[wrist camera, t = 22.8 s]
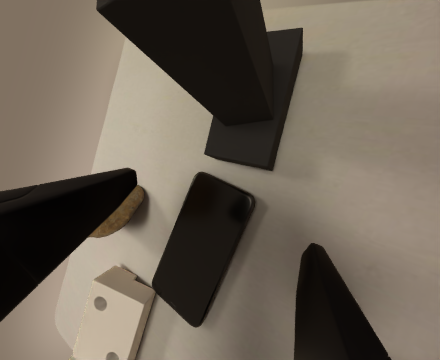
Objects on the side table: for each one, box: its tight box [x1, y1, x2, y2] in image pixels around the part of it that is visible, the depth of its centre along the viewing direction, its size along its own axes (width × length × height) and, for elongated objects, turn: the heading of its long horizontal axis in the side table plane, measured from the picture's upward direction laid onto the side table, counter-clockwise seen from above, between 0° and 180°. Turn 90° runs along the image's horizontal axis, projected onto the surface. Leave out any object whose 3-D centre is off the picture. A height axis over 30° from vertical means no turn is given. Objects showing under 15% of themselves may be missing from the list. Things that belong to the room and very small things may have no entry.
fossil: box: [89, 185, 144, 238], centre depth 24 cm, size 9×4×10 cm
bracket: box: [68, 266, 156, 360], centre depth 21 cm, size 13×7×8 cm, turn 160°
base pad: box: [204, 28, 303, 171], centre depth 18 cm, size 12×6×3 cm, turn 165°
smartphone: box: [152, 172, 255, 327], centre depth 20 cm, size 8×1×16 cm
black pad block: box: [96, 0, 273, 126], centre depth 11 cm, size 5×4×12 cm
